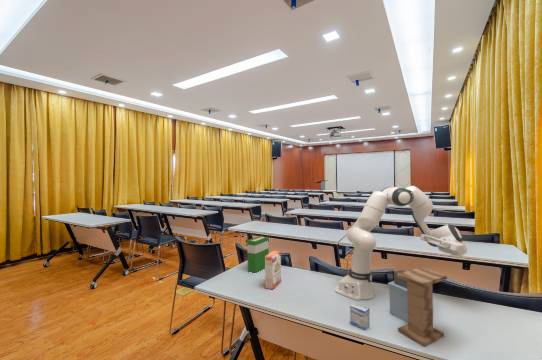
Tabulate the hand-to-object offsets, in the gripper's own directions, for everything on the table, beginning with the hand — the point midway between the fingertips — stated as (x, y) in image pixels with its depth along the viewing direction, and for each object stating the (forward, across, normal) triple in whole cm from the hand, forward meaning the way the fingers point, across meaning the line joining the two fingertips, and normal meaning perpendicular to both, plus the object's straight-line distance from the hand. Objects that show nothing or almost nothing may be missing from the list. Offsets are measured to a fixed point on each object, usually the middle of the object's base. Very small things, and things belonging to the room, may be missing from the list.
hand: (432, 240), depth 138 cm
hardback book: (+46, -90, +65) cm, 120 cm away
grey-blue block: (+8, +5, +39) cm, 40 cm away
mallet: (+8, +3, +23) cm, 25 cm away
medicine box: (+36, +1, +50) cm, 61 cm away
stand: (+17, +18, +41) cm, 48 cm away
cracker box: (+49, -59, +62) cm, 98 cm away
